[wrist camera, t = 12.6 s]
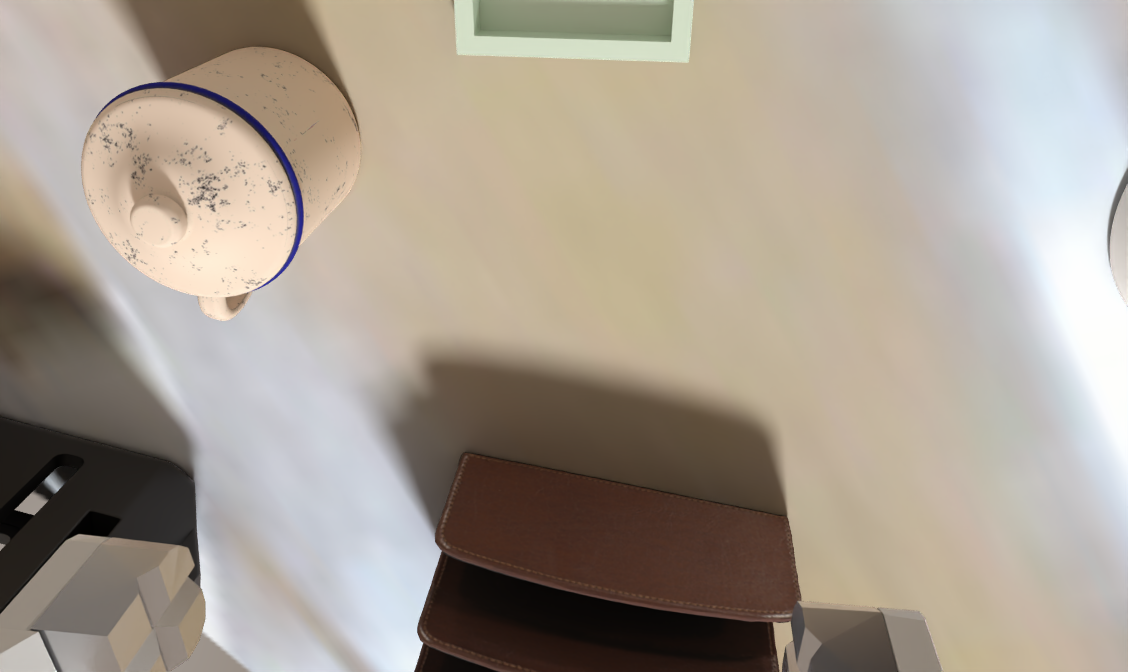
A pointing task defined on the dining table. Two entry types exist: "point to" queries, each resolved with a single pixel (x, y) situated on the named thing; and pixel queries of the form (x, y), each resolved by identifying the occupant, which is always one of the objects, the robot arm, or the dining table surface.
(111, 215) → the teacup with lid
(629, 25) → the tray
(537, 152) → the dining table surface
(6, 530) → the black machined bracket
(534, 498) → the letter holder
